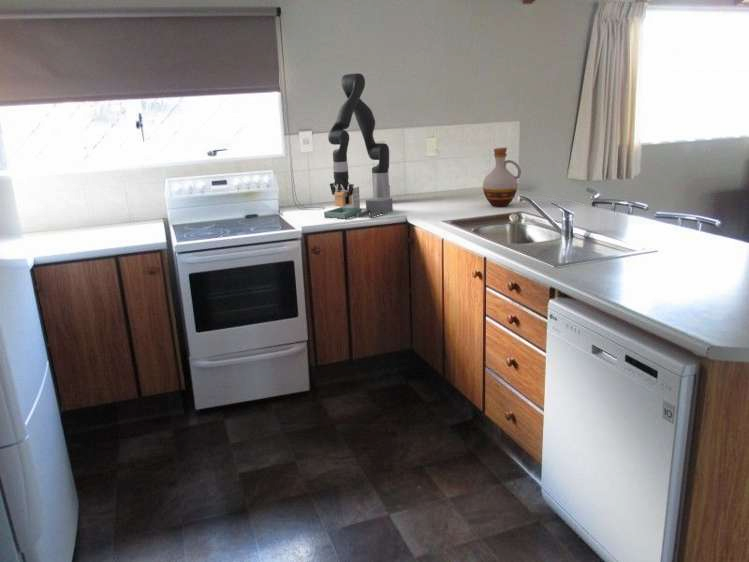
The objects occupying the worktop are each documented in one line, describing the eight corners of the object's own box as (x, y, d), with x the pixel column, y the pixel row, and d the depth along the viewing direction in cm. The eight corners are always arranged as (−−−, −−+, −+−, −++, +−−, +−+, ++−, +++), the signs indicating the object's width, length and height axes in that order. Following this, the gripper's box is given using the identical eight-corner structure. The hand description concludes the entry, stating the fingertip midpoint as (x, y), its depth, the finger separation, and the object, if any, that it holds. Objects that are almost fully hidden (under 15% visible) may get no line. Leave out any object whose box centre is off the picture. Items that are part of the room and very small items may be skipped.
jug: (518, 202, 342) (519, 145, 333) (522, 208, 325) (523, 148, 316) (481, 203, 344) (481, 147, 335) (483, 209, 327) (483, 150, 318)
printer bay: (377, 210, 339) (376, 197, 337) (392, 211, 334) (392, 198, 332) (355, 217, 324) (354, 203, 322) (371, 218, 318) (370, 204, 316)
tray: (341, 212, 338) (341, 206, 338) (361, 214, 331) (361, 208, 330) (324, 217, 327) (323, 212, 326) (344, 219, 320) (344, 213, 319)
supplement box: (342, 211, 342) (340, 187, 339) (348, 208, 349) (347, 185, 345) (353, 211, 339) (352, 188, 335) (360, 209, 345) (359, 185, 342)
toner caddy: (344, 203, 333) (343, 190, 331) (352, 204, 330) (351, 190, 328) (333, 206, 325) (332, 192, 323) (341, 207, 323) (340, 193, 321)
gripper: (356, 169, 322) (358, 203, 327) (334, 169, 329) (336, 201, 334) (347, 171, 316) (349, 205, 321) (325, 171, 324) (327, 204, 328)
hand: (342, 203), depth 327 cm, fingers closed on toner caddy, 5 cm apart
